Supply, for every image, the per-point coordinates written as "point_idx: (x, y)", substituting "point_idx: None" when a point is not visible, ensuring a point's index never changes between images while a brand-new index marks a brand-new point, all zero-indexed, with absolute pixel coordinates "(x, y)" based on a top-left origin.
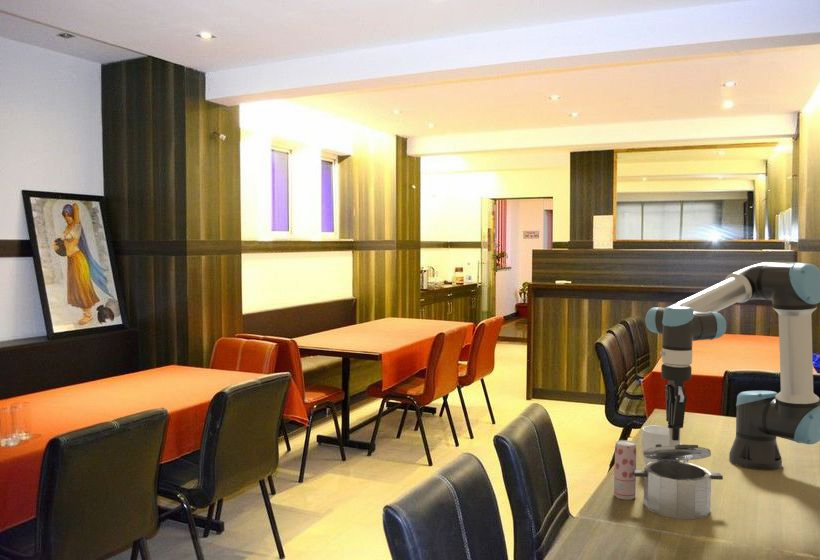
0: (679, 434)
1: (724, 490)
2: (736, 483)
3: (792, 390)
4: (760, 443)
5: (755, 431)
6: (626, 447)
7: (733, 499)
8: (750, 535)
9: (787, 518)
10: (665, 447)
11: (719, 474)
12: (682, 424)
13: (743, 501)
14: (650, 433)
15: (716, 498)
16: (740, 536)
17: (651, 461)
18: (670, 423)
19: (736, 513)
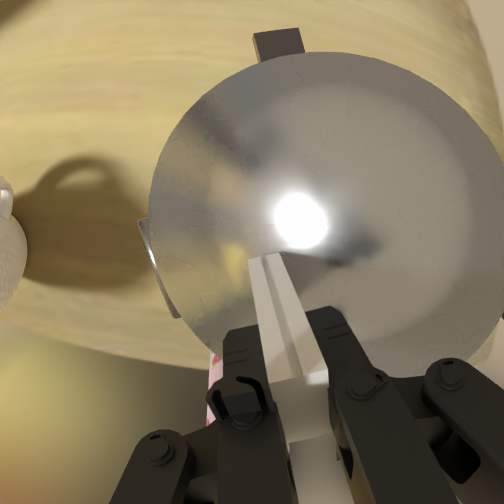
0: (307, 327)
1: (80, 57)
2: (22, 42)
3: None
4: None
5: None
6: (288, 444)
7: (152, 27)
8: (424, 43)
9: None
10: (468, 352)
11: (280, 37)
12: (487, 385)
13: (163, 3)
14: None
15: (159, 71)
16: (436, 68)
17: (18, 280)
18: (290, 461)
19: (282, 27)
